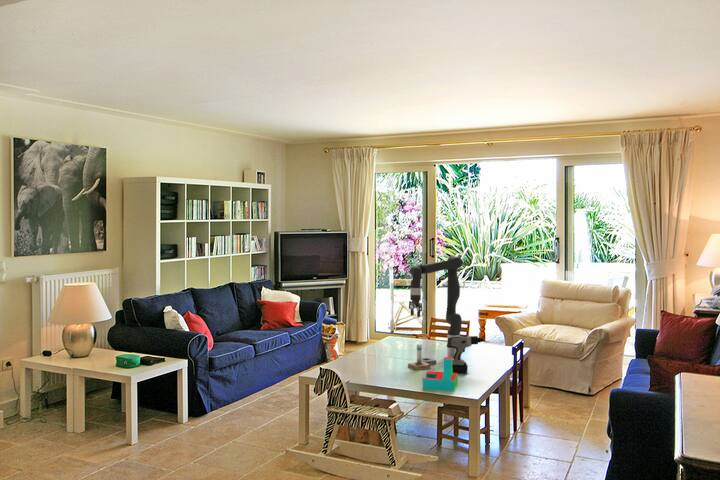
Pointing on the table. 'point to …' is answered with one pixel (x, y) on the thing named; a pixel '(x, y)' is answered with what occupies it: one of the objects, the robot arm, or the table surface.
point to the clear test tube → (419, 354)
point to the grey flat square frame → (428, 360)
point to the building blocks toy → (441, 378)
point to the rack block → (419, 366)
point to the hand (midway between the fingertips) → (415, 316)
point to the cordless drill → (461, 351)
